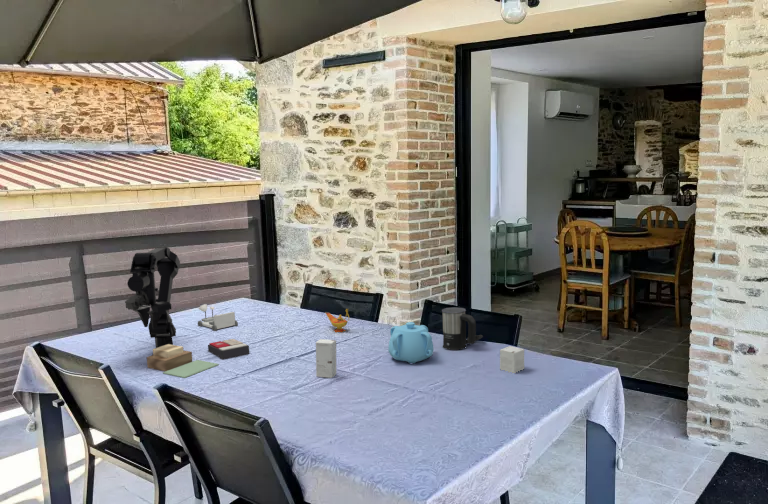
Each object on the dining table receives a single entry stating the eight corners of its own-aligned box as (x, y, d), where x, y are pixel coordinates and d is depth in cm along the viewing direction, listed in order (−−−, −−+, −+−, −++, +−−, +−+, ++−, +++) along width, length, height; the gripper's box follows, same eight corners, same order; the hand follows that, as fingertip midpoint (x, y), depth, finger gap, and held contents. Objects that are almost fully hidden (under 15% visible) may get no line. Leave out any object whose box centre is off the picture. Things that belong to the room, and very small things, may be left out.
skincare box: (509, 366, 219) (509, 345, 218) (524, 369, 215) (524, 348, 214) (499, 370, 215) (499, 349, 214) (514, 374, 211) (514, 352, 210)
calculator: (233, 337, 253) (249, 343, 241) (234, 348, 254) (249, 354, 242) (207, 342, 247) (221, 349, 235) (208, 353, 247) (222, 360, 235)
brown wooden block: (147, 367, 228) (146, 357, 227) (173, 358, 238) (173, 348, 238) (166, 371, 223) (165, 360, 222) (192, 362, 233) (191, 351, 233)
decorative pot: (433, 352, 238) (433, 317, 236) (433, 365, 222) (432, 328, 220) (390, 352, 239) (389, 317, 237) (387, 365, 223) (386, 328, 221)
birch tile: (153, 355, 229) (152, 349, 229) (168, 350, 235) (168, 344, 235) (168, 358, 225) (167, 351, 225) (183, 353, 231) (183, 346, 231)
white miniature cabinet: (315, 377, 213) (314, 342, 211) (321, 372, 217) (319, 338, 216) (332, 378, 211) (331, 343, 210) (337, 374, 215) (336, 339, 214)
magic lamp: (332, 325, 283) (331, 301, 281) (356, 332, 269) (355, 307, 267) (319, 328, 278) (318, 303, 277) (343, 335, 264) (342, 310, 263)
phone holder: (193, 305, 288) (215, 300, 297) (194, 325, 290) (217, 321, 298) (214, 310, 276) (236, 305, 284) (215, 332, 277) (238, 327, 285)
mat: (162, 373, 221) (162, 372, 221) (197, 360, 235) (197, 359, 235) (184, 378, 215) (184, 377, 215) (218, 364, 229) (218, 363, 229)
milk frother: (439, 349, 241) (438, 311, 239) (450, 338, 256) (450, 302, 254) (475, 352, 236) (475, 314, 234) (485, 341, 250) (485, 305, 248)
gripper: (111, 288, 229) (114, 330, 231) (145, 292, 220) (149, 335, 222) (137, 283, 239) (140, 323, 241) (171, 286, 229) (174, 328, 231)
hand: (150, 327), depth 234 cm, fingers open, 4 cm apart
